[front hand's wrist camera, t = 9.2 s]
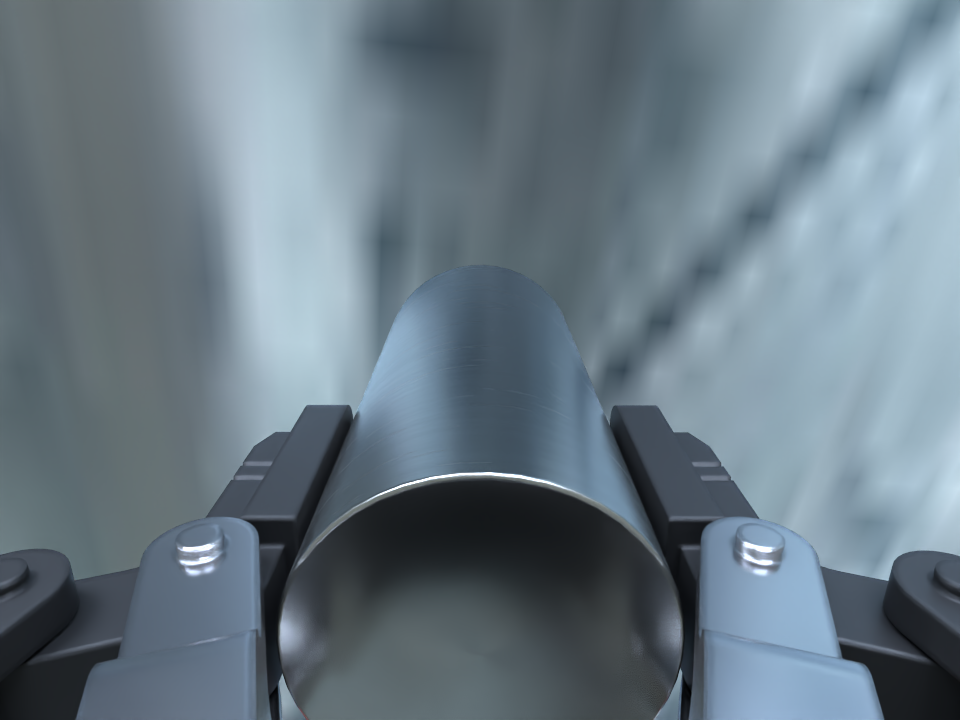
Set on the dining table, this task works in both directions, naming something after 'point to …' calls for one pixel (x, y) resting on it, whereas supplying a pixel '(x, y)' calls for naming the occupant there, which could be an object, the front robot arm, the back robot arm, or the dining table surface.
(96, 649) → the front robot arm
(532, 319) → the metal cylinder
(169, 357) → the dining table surface
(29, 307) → the dining table surface
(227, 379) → the dining table surface
